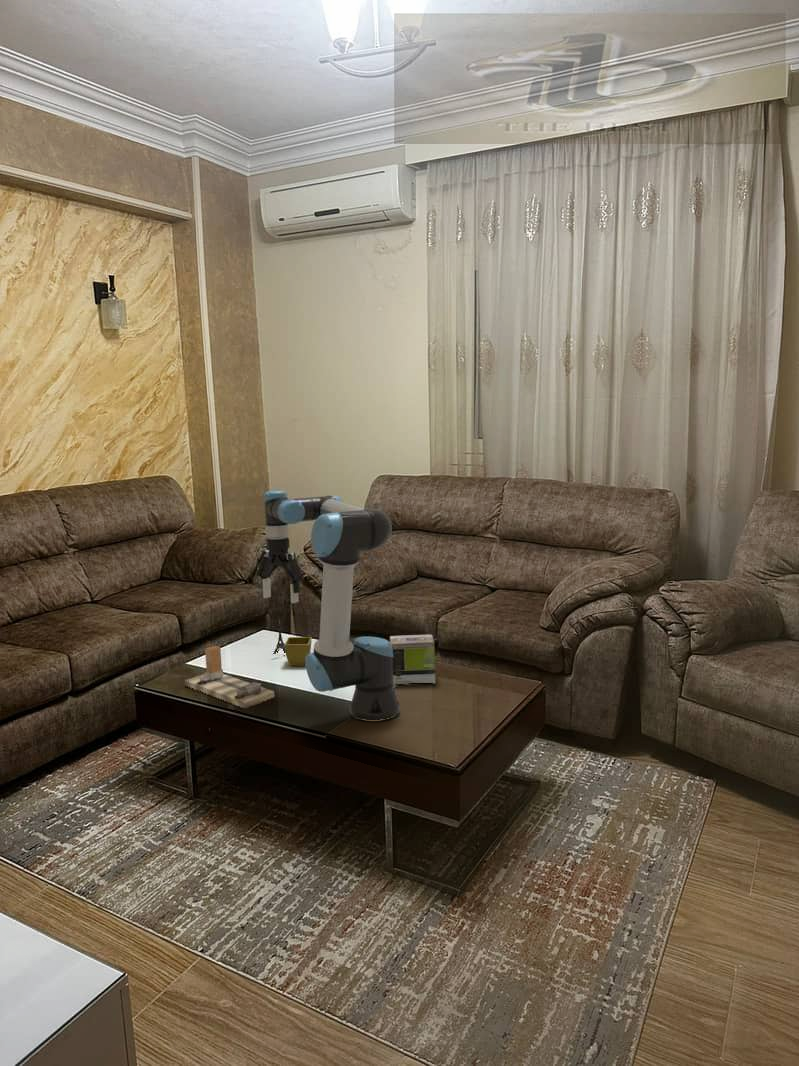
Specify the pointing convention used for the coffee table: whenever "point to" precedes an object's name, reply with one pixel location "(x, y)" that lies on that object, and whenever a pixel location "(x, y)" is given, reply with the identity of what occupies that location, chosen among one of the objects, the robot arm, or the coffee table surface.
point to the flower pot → (297, 650)
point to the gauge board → (232, 690)
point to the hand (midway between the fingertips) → (280, 599)
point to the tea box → (413, 659)
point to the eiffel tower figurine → (279, 645)
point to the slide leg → (212, 664)
